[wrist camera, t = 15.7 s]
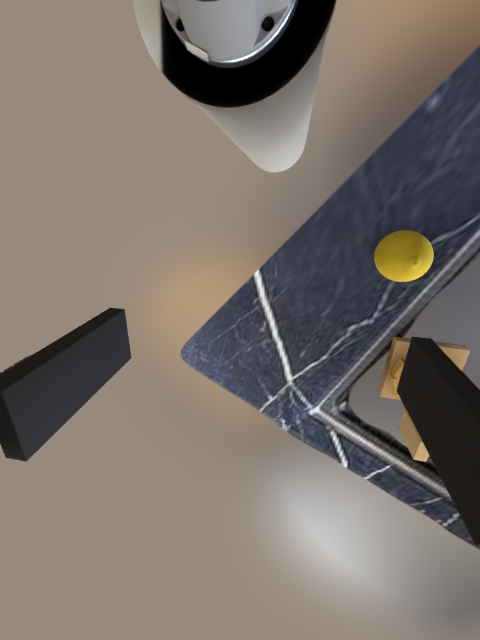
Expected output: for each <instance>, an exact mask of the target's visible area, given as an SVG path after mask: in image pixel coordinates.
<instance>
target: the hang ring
mask: <svg viewBox="0 0 480 640" xmlns="http://www.w3.org/2000/svg"><path fill="white" fill-rule="evenodd" d="M403 359H404V360H403ZM403 359H401V358H400V359H399V361H398V362H397V363H396V365H395V366H394V367H393V369H392V370H391V373H390V382H391V388H392V390H393V392H394V394H395V395H396V396H397V397H398V398H399V399H400V397H399V395H398V393H397V391H396V390H397V386H398V383H399V379H400V376H401V372H402V369H403V366H404V362H405V359H406V355H405V356H403ZM459 369H460V368H459ZM400 400H401V399H400ZM399 429H400V431H401V434H402V436H403V438H404V440H405V442H406V444H407V446H408V449H409V451H410V453H411V455H412V457H413V459H414V460H419V461H425V462H426V461H427V459H428V456H429V453H428V451H427V450H426V448H425V446H424V444H423V442H422V440H421V438H420V436H419V434H418V432H417V430H416V428H415V426H414V424H413V422H412V420H411V418H410V416H409V414H408V412H407V410H406V412H404V414H403V417H402V420H401V423H400V425H399Z"/></svg>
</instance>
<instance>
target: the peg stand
mask: <svg viewBox="0 0 480 640" xmlns="http://www.w3.org/2000/svg"><path fill="white" fill-rule="evenodd" d="M410 341H411V339H410V338H402V337H394V338H393V341H392V344H391V348H390V351H389V355H388V358H387V361H386V365H385V368H384V371H383V375H382V378H381V381H380V385H379V388H378V392H379V395H380V397H386V398H392V399H399V398H398V397H397V396H396V395H395V394H394V392H393V390H392V388H391V382H390V373H391V370H392V369H393V367H394V366H395V365H396V363H397V362H398V361H399V359H400V358H401V359H403V356H405V355H407V352H408V348H409V345H410ZM435 343H436V344H437V345H438V346H439V347H440V348H441V349H442V350H443V351H444V353H445V354H446V355H447V356H448V357H449V358H450V359H451V360H452V361H453V362H454V363H455V364H456V365H457V366H458V367H459V368H460V370H461V371H462V370H463V367H464V365H465V362H466V360H467V358H468V355H469V353H470V350H469V349H468V348H467V347H466V346H464V345H456V344H449V343H440V342H435ZM403 360H404V359H403ZM399 400H400V399H399Z"/></svg>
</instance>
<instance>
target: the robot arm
mask: <svg viewBox="0 0 480 640" xmlns="http://www.w3.org/2000/svg"><path fill="white" fill-rule="evenodd" d="M161 2H162V6H163V9H164V12H165V14H166V17H167V19H168V21H169V23H170V25H171V27H172V28H173V30H174V31H175V33H176V34H177V36H178V37H179V39H180V40H181V42H182V43H183V44H184V46H185V47H186V48H187V50H188V51H190V52H191V53H192V54H193V55H194V56H196V57H197V58H198V59H200V60H201V61H203V62H205V63H207V64H209V65H212V66H215V67H220V68H235V67H240V66H244V65H247V64H249V63H252V62H253V61H255V60H257V59H259V58H260V57H262V56H263V55H264V54H265V53H267V52H268V51H269V50H270V49H271V48H272V47H273V46H274V45H275V44H276V43H277V41H278V40H279V39H280V38H281V36H282V35H283V33H284V32H285V30H286V28H287V27H288V25H289V23H290V21H291V19H292V17H293V14H294V12H295V9H296V6H297V3H298V0H161ZM126 324H127V323H126V317H125V309H117V308H109V309H108V310H106V311H104V312H102V313H101V314H99V315H98V316H96V317H94V318H93V319H91V320H89V321H88V322H86V323H84V324H83V325H81V326H79V327H78V328H76V329H74V330H73V331H71V332H70V333H68V334H66V335H65V336H63V337H61V338H60V339H58V340H56V341H55V342H53V343H51V344H50V345H48V346H46V347H45V348H43V349H42V350H40V351H38V352H36V353H35V354H33V355H31V356H28V357H26V358H24V359H22V360H21V361H19V362H17V363H16V364H14V366H11V367H9V368H7V369H6V370H4V372H1V373H0V444H1V446H2V449H3V452H4V454H5V457H6V458H11V459H16V460H21V461H27V460H28V459H29V458H30V457H31V456H32V455H33V454H34V453H35V452H37V451H38V450H39V449H40V448H41V447H42V446H43V445H44V444H45V443H46V442H47V441H48V440H49V439H50V438H51V437H52V436H53V435H54V434H55V433H56V432H57V431H58V430H59V429H60V428H61V427H62V426H63V425H64V424H65V423H66V422H67V421H68V420H69V419H70V418H71V417H72V416H73V415H74V414H75V413H76V412H77V411H78V410H79V409H80V408H81V407H82V406H83V405H84V404H85V403H86V402H87V401H88V400H89V399H90V398H91V397H92V396H93V395H94V394H95V393H96V392H97V391H98V390H99V389H100V388H101V387H102V386H103V385H104V384H105V383H106V382H107V381H108V380H109V379H110V378H111V377H113V375H115V373H116V372H118V371H119V370H120V369H121V367H123V366H124V365H125V364H126V363H127V362H128V361H129V359H131V353H130V346H129V338H128V331H127V325H126ZM396 391H397V393H398V395H399V397H400V399H401V401H402V402H403V404H404V406H405V408H406V410H407V412H408V414H409V416H410V418H411V420H412V422H413V424H414V426H415V428H416V430H417V432H418V434H419V436H420V438H421V440H422V442H423V444H424V446H425V448H426V450H427V451H428V453H429V455H430V457H431V459H432V461H433V463H434V465H435V467H436V469H437V471H438V473H439V475H440V477H441V479H442V481H443V483H444V485H445V487H446V489H447V491H448V493H449V495H450V497H451V498H452V500H453V502H454V504H455V506H456V508H457V510H458V512H459V514H460V516H461V518H462V520H463V522H464V524H465V526H466V528H467V530H468V532H469V534H470V536H471V538H472V540H473V542H474V544H475V545H476V547H480V390H479V389H478V388H477V387H476V386H475V385H474V383H473V382H472V381H471V380H470V379H469V378H468V377H467V376H466V375H465V374H464V373H463V372H462V371H461V370H460V369H459V367H458V366H457V365H456V364H455V363H454V362H453V361H452V360H451V359H450V358H449V357H448V356H447V355H446V354H445V353H444V351H443V350H442V349H441V348H440V347H439V346H438V345H437V344H436V343H435V342H434V341H433V340H432V339H430V338H420V337H412V338H411V341H410V345H409V348H408V352H407V355H406V359H405V362H404V366H403V369H402V372H401V376H400V379H399V383H398V386H397V390H396Z"/></svg>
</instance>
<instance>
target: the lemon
mask: <svg viewBox="0 0 480 640" xmlns="http://www.w3.org/2000/svg"><path fill="white" fill-rule="evenodd" d="M433 256H434V254H433V248H432V246H431V243H430V242H429V241H428V240H427V238H426V237H424V236H423V235H421V234H420V233H418V232H414V231H411V230H400V231H396V232H393V233H391V234H389V235H387V236H386V237H385V238H383V239H382V240H381V241H380V243H379V244H378V246H377V248H376V250H375V254H374V261H375V264H376V267H377V269H378V270H379V272H380V273H381V274H382V275H384V276H385V277H386V278H388V279H391V280H393V281H399V282H405V281H411V280H415V279H417V278H419V277H421V276H422V275H423V274H424V273H426V272H427V270H428V269H429V268H430V266H431V264H432V262H433Z"/></svg>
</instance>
